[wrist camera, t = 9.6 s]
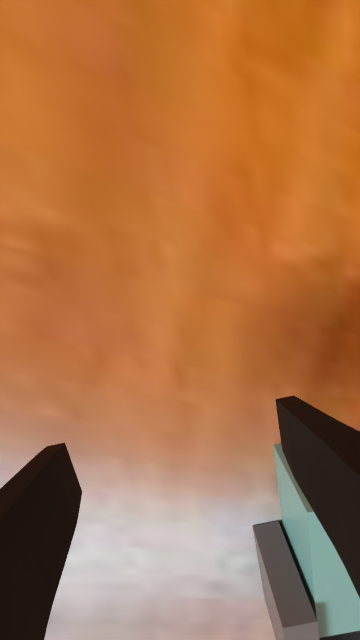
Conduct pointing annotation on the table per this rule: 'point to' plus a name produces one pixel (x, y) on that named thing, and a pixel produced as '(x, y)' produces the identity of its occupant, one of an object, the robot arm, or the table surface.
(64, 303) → the table surface
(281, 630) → the header
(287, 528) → the plug
